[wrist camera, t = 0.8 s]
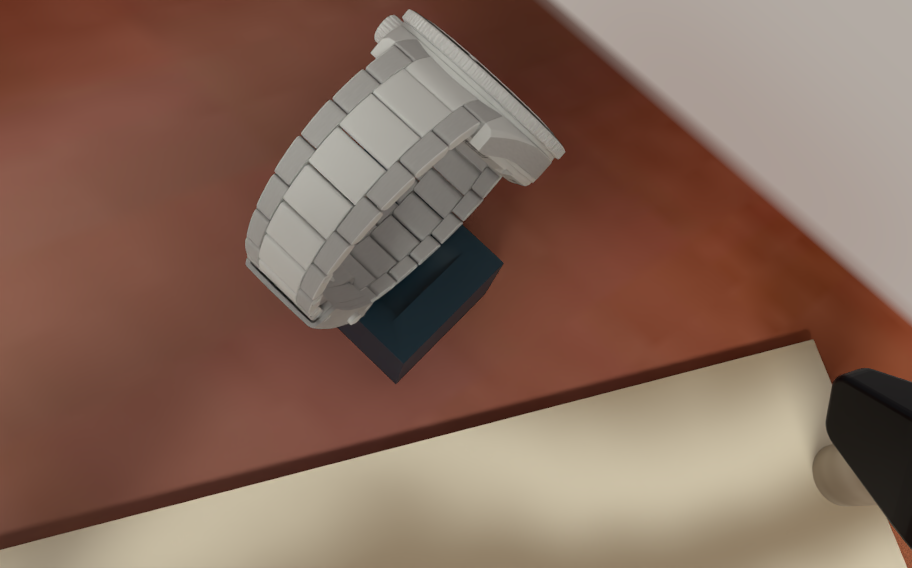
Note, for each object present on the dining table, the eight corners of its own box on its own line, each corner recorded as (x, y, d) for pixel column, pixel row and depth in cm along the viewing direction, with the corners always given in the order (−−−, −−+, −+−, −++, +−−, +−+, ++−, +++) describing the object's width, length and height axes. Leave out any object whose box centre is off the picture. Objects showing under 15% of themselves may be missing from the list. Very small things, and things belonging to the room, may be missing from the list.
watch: (522, 256, 26) (644, 72, 15) (356, 424, 23) (368, 339, 13) (406, 150, 26) (449, -96, 16) (232, 301, 24) (147, 125, 13)
